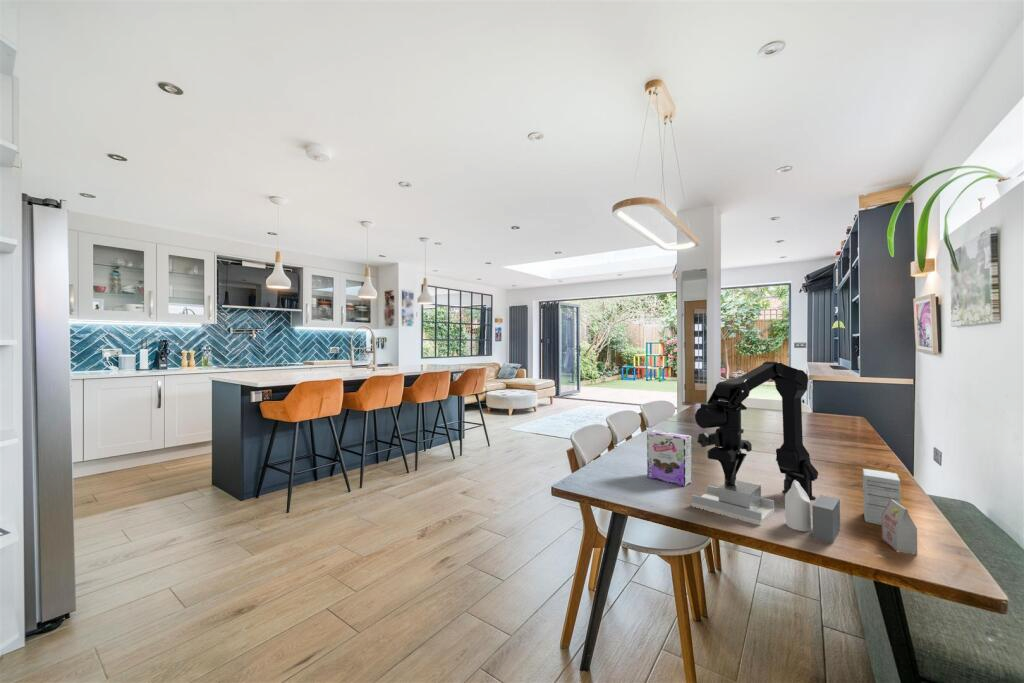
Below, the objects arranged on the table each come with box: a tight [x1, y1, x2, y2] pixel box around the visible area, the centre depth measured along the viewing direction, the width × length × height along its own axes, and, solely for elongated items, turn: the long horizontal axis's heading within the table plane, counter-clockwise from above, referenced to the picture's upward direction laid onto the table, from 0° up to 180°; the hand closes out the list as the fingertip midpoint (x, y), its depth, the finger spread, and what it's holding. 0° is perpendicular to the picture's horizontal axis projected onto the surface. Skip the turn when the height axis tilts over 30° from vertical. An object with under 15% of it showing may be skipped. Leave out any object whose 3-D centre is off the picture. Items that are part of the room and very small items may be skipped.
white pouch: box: [784, 480, 812, 532], centre depth 108 cm, size 6×12×6 cm
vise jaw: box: [718, 468, 762, 510], centre depth 118 cm, size 8×10×10 cm
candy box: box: [646, 429, 692, 487], centre depth 145 cm, size 14×6×16 cm, turn 45°
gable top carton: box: [881, 499, 918, 555], centre depth 97 cm, size 4×7×10 cm, turn 160°
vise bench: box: [691, 484, 841, 544], centre depth 114 cm, size 33×13×8 cm, turn 44°
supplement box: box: [862, 468, 902, 526], centre depth 111 cm, size 7×7×13 cm
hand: (730, 479), depth 120 cm, fingers closed on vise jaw, 3 cm apart
